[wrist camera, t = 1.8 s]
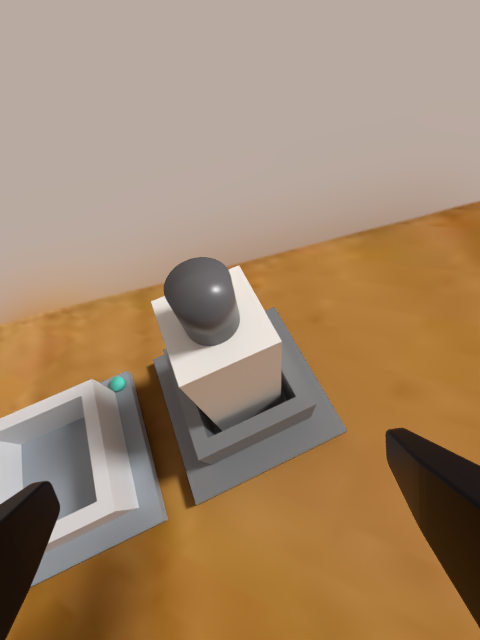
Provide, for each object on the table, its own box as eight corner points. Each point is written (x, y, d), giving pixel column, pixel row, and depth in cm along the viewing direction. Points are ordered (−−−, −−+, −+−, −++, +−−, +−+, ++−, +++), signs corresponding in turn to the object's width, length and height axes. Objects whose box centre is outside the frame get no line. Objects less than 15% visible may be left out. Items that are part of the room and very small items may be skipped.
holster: (344, 432, 19) (360, 419, 15) (199, 504, 18) (178, 508, 14) (274, 312, 24) (273, 280, 20) (156, 363, 23) (133, 339, 19)
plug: (280, 406, 20) (282, 306, 9) (224, 432, 19) (154, 362, 8) (255, 355, 22) (231, 222, 11) (203, 378, 21) (125, 264, 10)
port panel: (168, 519, 18) (143, 527, 15) (1, 602, 17) (-66, 629, 14) (132, 374, 23) (107, 355, 19) (1, 431, 22) (-49, 421, 18)
